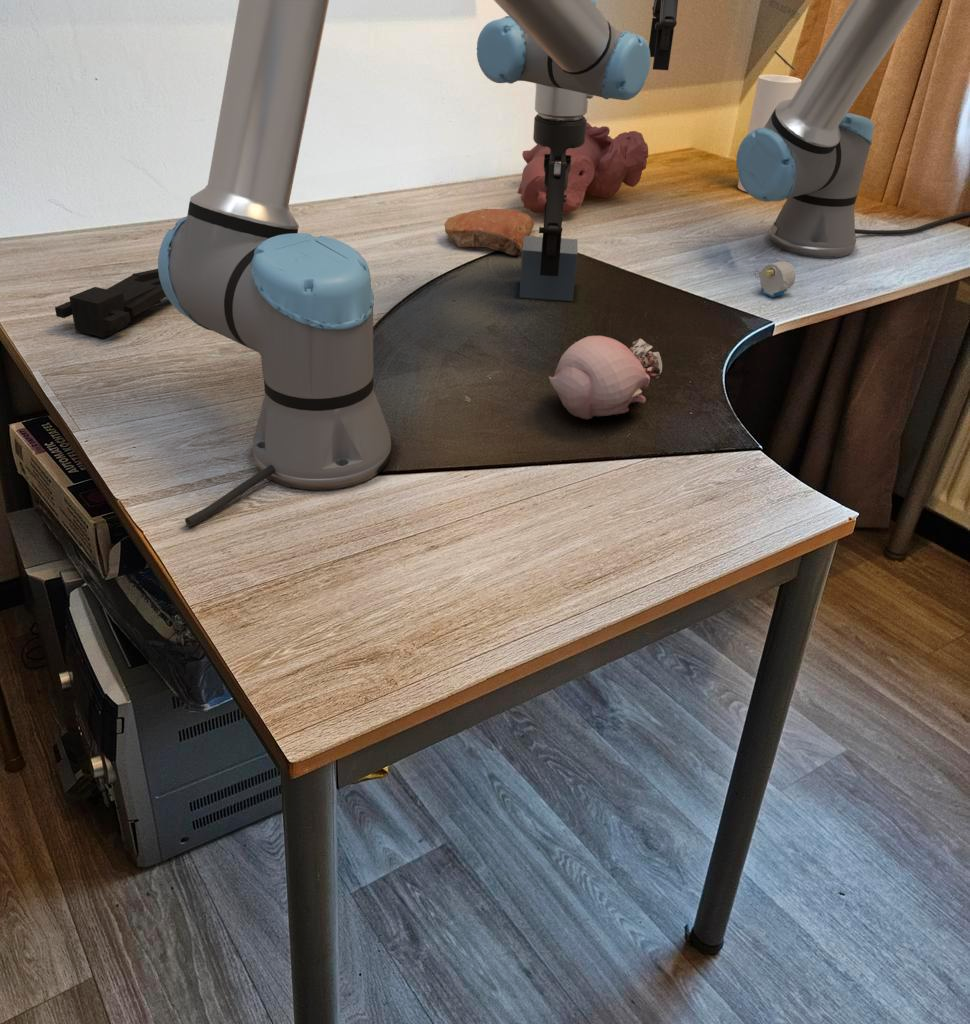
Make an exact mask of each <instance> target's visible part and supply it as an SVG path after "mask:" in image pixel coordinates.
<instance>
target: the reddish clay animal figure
mask: <svg viewBox="0 0 970 1024" xmlns="http://www.w3.org/2000/svg"><path fill="white" fill-rule="evenodd" d="M610 130H611V129H610V127H608V126H607V125H605V126H604V125H602V126H600V127H598V126H592V125H591V124H590V123H589V122H587V124H586V135H585V142H584V144H583V145H582V146H580V147H577V148H569V149H567V150H566V155H571V168H570V172H569V174H568V186H567V189H566V190H565V191H564V195H567V200H566V202H563V213H564V214H569V213H573V212H575V211H578V209H579V208H581V206H582V203H584V199H585V195H591V196H593V197H596V198H599V197H604V198H606V197H608V198H610V197H613V196H614V195H617V194H618V192H619V191H620V189H621V186H622V184H624V185H625V186H627V187H631V188H635V187H636V186H637V185H638V184H639V183H640V181H641V178H642V174H643V171H645V170H646V169H647V164H648V161H647V160H648V157H649V146H648V143H647V142H646V141H645V139H644V135H643V134H642V132H638V131H636V130H631V131H628V132H627V131H624V132H621V133H618V135H617V136H615V137H614V138H612V137H611V136H610V135H609V134H610ZM545 154H550V148H549V147H543V146H540V145H538V144H536V145H535V146H534V147H532V148H531V149H529V150H523V151H522V153H521V156H522V158H523V160H524V162H525V163H526V164H525V166H524V168H523V170H522V172H521V173H522V174H521V180H520V181H521V182H520V185H519V186H518V189H517V194H518V195H520V200H521V202H522V203H523V207H524V209H525V210H529V211H530V212H532V213H535V214H545V203H546V194H547V191H546V189H545V188H544V179H545V172H544V155H545Z"/></svg>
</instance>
